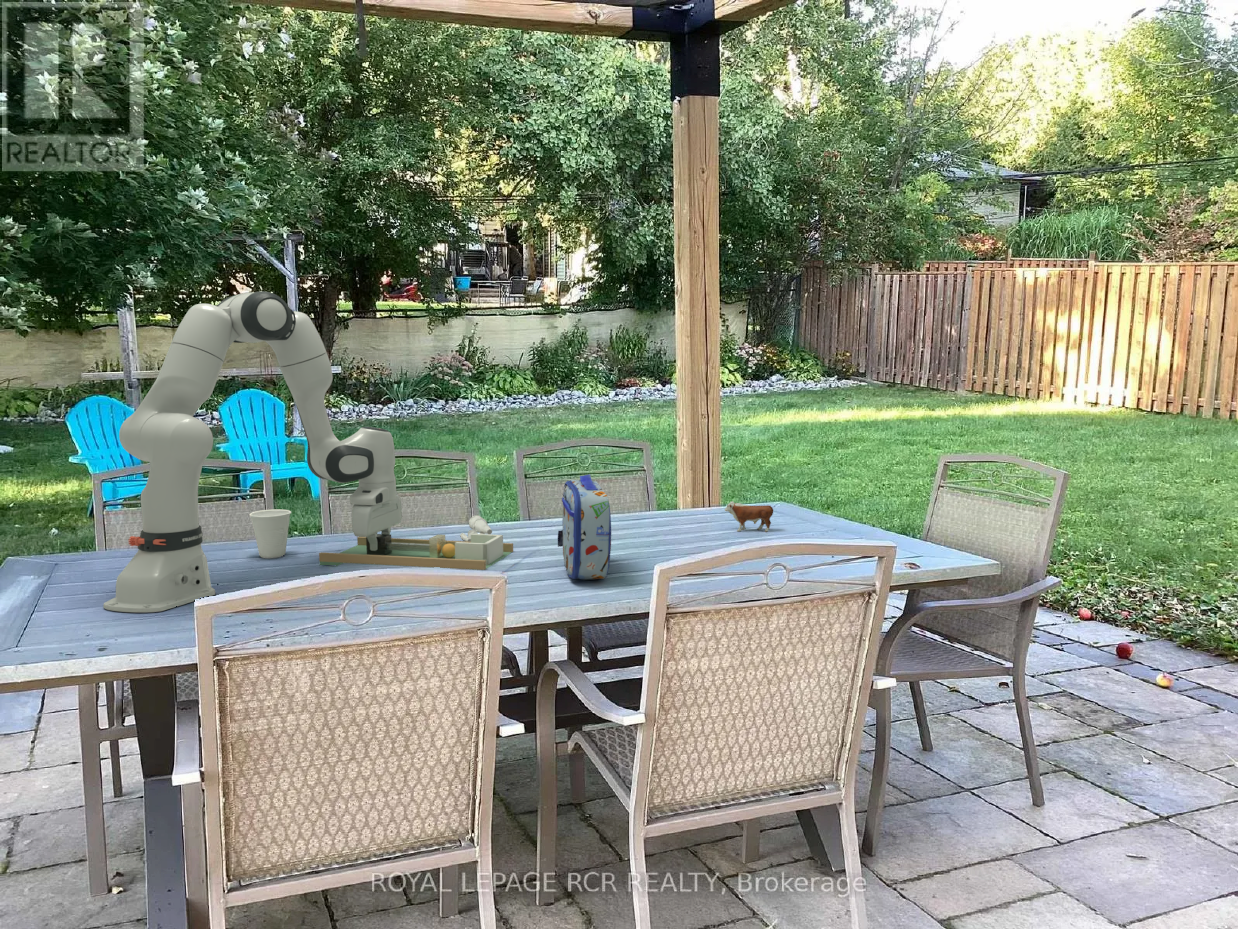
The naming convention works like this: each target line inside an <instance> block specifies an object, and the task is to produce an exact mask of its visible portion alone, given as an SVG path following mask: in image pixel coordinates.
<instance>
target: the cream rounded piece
mask: <svg viewBox="0 0 1238 929" xmlns="http://www.w3.org/2000/svg"><path fill="white" fill-rule="evenodd" d="M468 526H469V528H470V530H468V531H467V534H466V533H464V532H461V533H460V534H459V536H460V539H461V540H462V541H468V542H471V534H489V535H493V531H492V529H491V526H489V523H488V521H487V520H486V519H485V518H483V517H482V516H481V515H478V514H477V515H476V514H475V515H472V517H470V518H469V520H468Z"/></svg>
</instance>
